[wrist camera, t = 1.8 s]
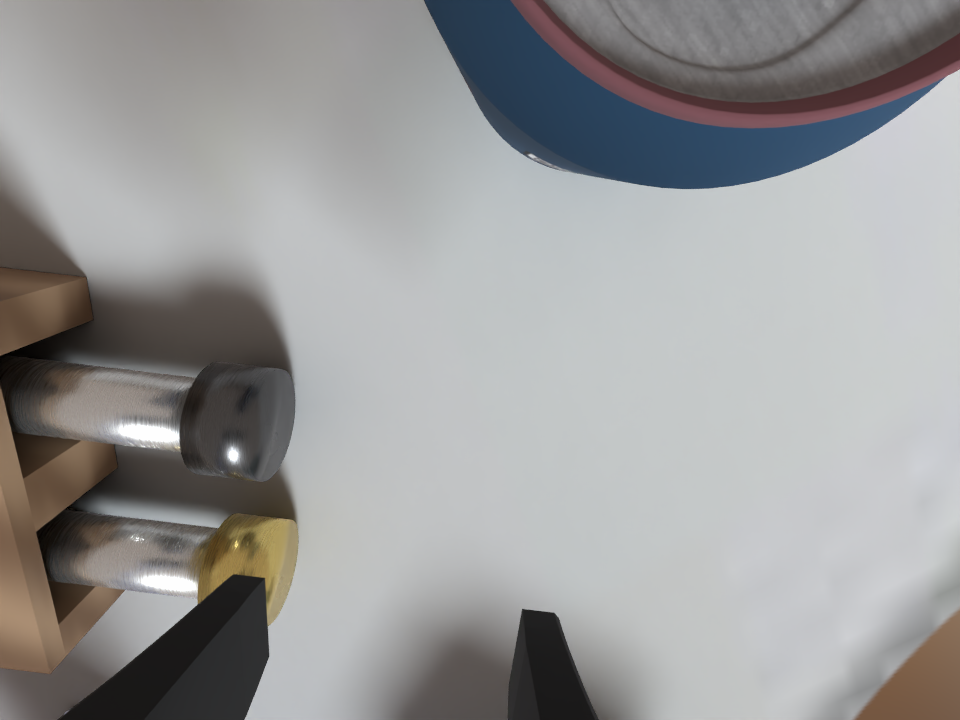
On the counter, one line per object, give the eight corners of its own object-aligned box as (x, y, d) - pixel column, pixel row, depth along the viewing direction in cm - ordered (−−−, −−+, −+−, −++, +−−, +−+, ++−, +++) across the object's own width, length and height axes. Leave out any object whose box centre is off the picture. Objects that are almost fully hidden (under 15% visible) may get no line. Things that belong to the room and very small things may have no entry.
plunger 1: (296, 445, 19) (251, 505, 16) (31, 413, 19) (-69, 466, 16) (294, 352, 18) (244, 397, 15) (10, 319, 18) (-103, 356, 15)
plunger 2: (299, 573, 21) (260, 650, 18) (61, 544, 22) (-22, 616, 18) (297, 499, 20) (255, 568, 17) (44, 469, 20) (-49, 531, 17)
